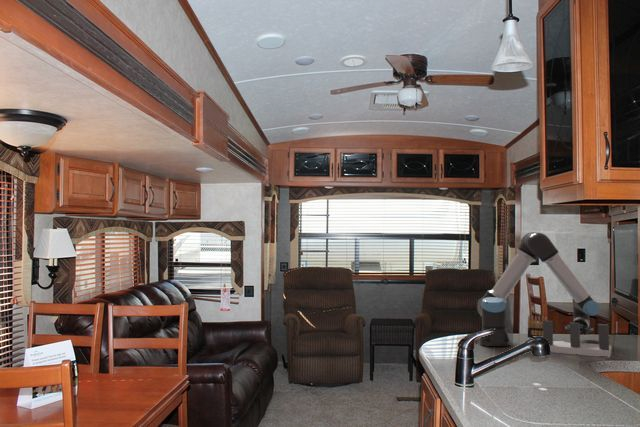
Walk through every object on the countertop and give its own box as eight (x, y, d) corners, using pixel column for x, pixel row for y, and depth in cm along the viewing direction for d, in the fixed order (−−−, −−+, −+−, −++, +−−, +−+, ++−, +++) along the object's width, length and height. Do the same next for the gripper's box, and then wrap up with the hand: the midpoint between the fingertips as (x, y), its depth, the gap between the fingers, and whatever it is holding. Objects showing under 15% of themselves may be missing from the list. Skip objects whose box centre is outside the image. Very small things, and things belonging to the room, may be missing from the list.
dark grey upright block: (579, 347, 253) (579, 323, 253) (570, 346, 255) (569, 323, 255) (580, 346, 255) (579, 322, 255) (571, 345, 257) (570, 322, 258)
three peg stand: (610, 357, 246) (609, 325, 247) (542, 351, 261) (541, 321, 261) (611, 351, 257) (610, 321, 258) (546, 346, 272) (545, 317, 272)
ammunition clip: (527, 336, 295) (526, 314, 296) (528, 336, 297) (527, 314, 297) (548, 338, 290) (547, 316, 290) (549, 338, 291) (548, 315, 292)
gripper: (594, 334, 274) (592, 343, 253) (566, 332, 280) (561, 341, 259) (594, 319, 274) (591, 327, 253) (565, 317, 280) (561, 325, 260)
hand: (576, 334), depth 256 cm, fingers closed
